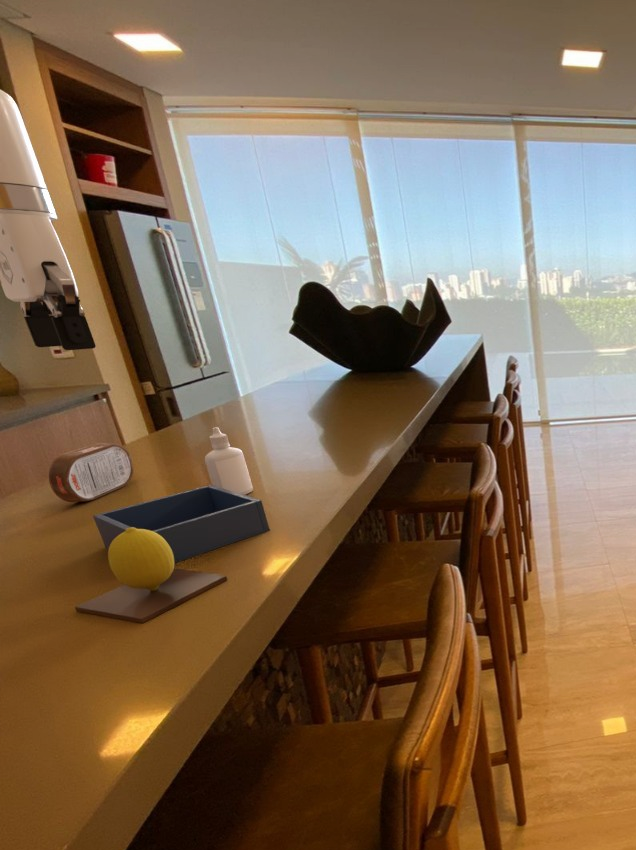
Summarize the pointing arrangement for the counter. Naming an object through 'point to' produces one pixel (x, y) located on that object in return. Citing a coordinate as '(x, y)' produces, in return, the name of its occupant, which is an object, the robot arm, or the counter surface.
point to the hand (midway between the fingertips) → (65, 347)
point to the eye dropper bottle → (227, 465)
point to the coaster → (151, 596)
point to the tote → (190, 520)
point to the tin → (90, 472)
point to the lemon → (141, 559)
